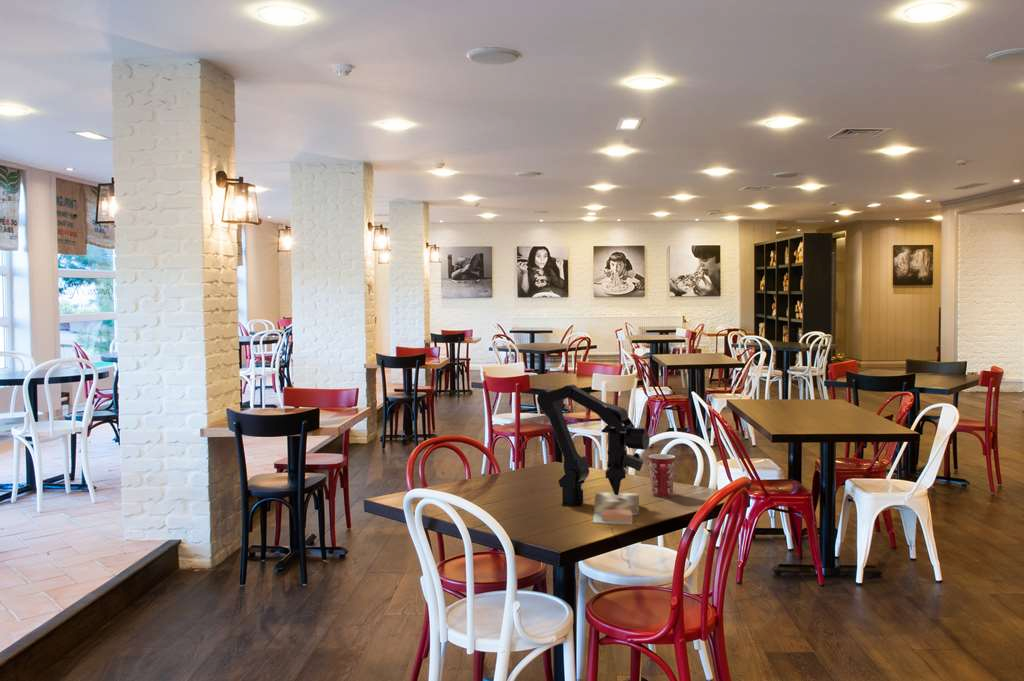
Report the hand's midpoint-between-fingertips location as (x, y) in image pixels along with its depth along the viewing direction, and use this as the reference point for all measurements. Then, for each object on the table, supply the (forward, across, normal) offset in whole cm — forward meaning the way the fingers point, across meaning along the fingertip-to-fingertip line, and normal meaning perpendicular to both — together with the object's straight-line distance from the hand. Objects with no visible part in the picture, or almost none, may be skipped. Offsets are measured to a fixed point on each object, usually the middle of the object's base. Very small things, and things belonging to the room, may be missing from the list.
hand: (616, 494), depth 271 cm
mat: (+5, -11, +1) cm, 12 cm away
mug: (+5, +21, -15) cm, 26 cm away
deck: (+5, 0, 0) cm, 5 cm away
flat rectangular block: (+3, -12, 0) cm, 12 cm away
